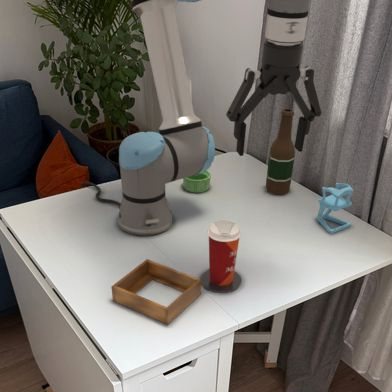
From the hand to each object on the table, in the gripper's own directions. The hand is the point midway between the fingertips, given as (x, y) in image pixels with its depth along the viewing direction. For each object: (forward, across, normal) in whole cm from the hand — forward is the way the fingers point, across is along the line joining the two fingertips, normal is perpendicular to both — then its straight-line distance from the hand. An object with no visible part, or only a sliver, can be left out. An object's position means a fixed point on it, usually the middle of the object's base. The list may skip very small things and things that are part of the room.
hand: (269, 151), depth 112 cm
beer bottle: (+29, +20, +37) cm, 51 cm away
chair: (+28, +27, +13) cm, 41 cm away
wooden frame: (+28, -27, -10) cm, 41 cm away
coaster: (+28, -11, -7) cm, 31 cm away
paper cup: (+28, -11, -7) cm, 31 cm away
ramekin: (+29, -5, +44) cm, 53 cm away
